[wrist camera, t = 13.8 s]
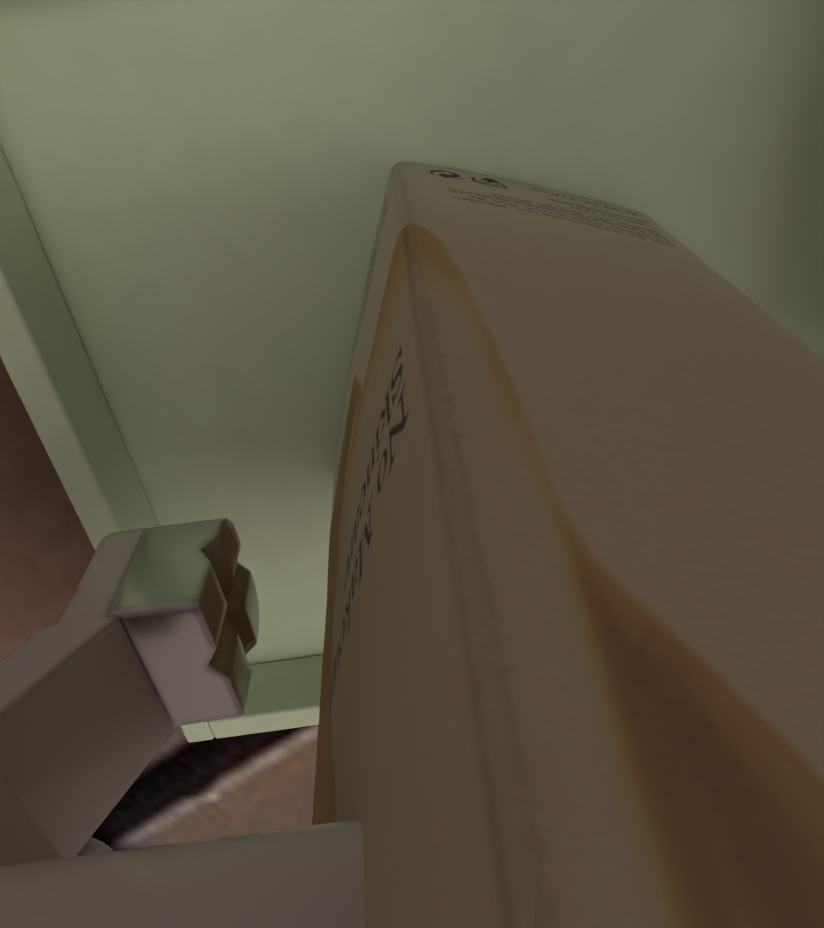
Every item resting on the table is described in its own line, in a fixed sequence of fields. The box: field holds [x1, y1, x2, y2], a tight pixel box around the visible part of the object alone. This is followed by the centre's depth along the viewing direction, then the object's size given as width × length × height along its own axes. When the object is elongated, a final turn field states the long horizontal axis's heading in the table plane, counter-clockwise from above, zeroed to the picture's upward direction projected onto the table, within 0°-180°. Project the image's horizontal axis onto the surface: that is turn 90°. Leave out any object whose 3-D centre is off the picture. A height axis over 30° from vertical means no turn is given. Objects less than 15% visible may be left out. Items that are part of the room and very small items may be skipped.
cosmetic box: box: [312, 161, 824, 928], centre depth 8 cm, size 6×4×12 cm
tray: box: [0, 0, 824, 742], centre depth 12 cm, size 14×14×2 cm
